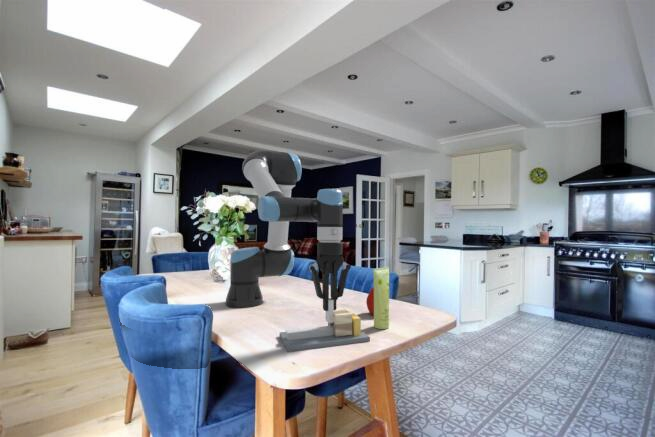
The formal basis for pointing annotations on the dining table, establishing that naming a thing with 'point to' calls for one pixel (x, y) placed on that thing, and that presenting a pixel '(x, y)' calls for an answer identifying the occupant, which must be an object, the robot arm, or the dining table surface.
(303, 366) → the dining table surface
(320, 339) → the rail board
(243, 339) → the dining table surface
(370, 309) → the apple
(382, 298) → the tube
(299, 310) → the dining table surface
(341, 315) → the beige wooden sliding block
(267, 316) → the dining table surface
